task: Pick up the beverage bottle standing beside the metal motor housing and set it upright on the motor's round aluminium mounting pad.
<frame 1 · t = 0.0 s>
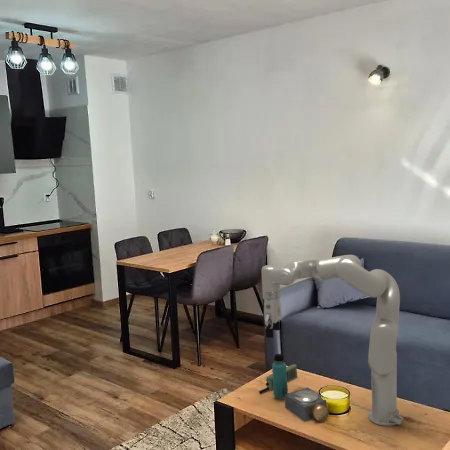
hand: (273, 333, 217), 31 cm above the table, tool pointing down, fingers open, 9 cm apart
handheld radio: (278, 386, 238), on the table
beverage bottle: (280, 398, 225), on the table
motor housing: (306, 410, 213), on the table
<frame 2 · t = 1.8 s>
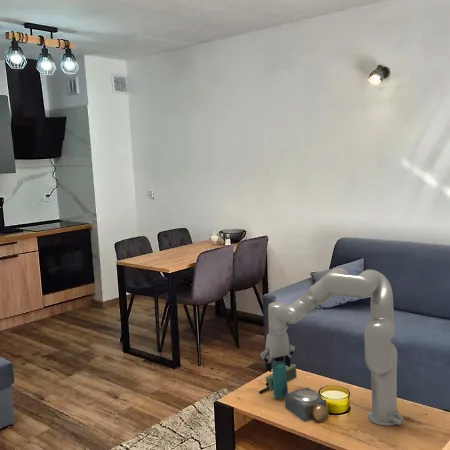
hand: (278, 368, 224), 14 cm above the table, tool pointing down, fingers open, 9 cm apart
nothing on the table moved.
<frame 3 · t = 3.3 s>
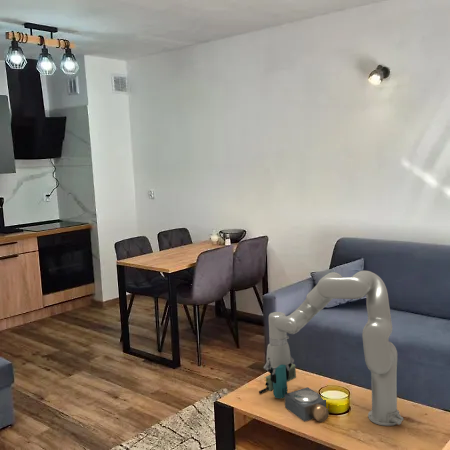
hand: (279, 380, 224), 9 cm above the table, tool pointing down, fingers closed on beverage bottle, 5 cm apart
beverage bottle: (280, 398, 225), on the table, touching gripper
everything else where it was.
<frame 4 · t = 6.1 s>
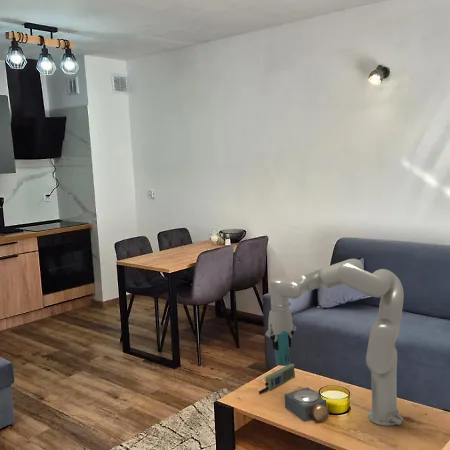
hand: (282, 347, 220), 24 cm above the table, tool pointing down, fingers closed on beverage bottle, 5 cm apart
beverage bottle: (283, 366, 221), point 15 cm above the table, touching gripper
everything else where it was.
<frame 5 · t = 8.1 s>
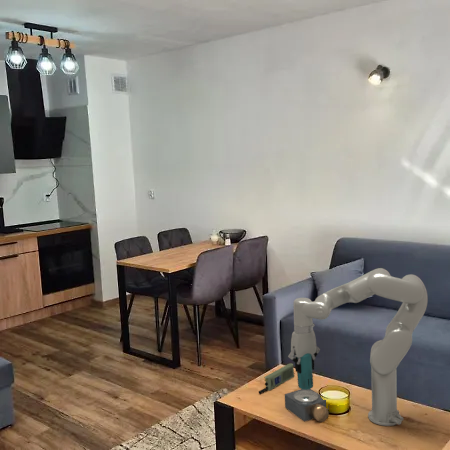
hand: (304, 370, 211), 18 cm above the table, tool pointing down, fingers closed on beverage bottle, 5 cm apart
beverage bottle: (305, 390, 212), point 9 cm above the table, touching gripper
when the fingers open (16 cm above the table, at t = 9.2 s): beverage bottle drops 1 cm, resting on motor housing.
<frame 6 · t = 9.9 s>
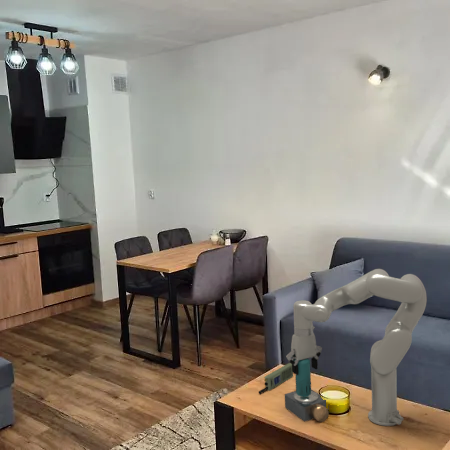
hand: (305, 371, 211), 17 cm above the table, tool pointing down, fingers open, 9 cm apart
beverage bottle: (303, 397, 211), point 6 cm above the table, touching gripper, motor housing
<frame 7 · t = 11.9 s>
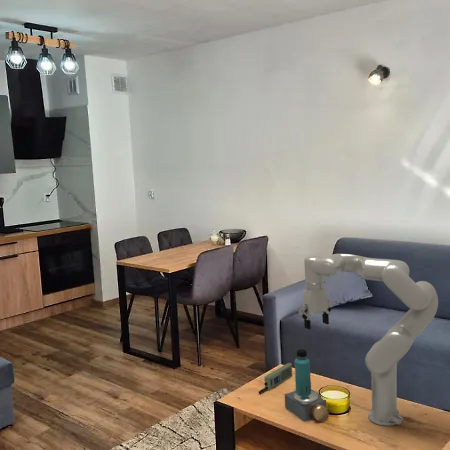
hand: (316, 326, 213), 35 cm above the table, tool pointing down, fingers open, 9 cm apart
beverage bottle: (303, 397, 211), point 6 cm above the table, touching motor housing
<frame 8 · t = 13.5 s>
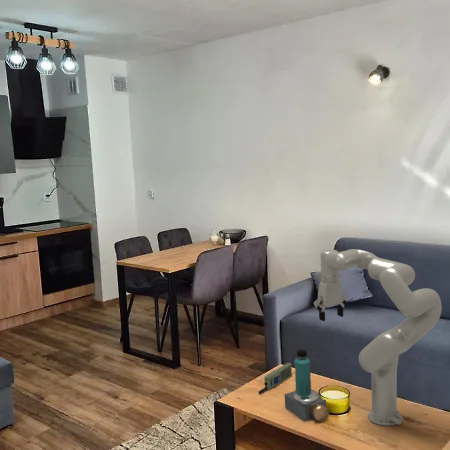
hand: (331, 318, 217), 36 cm above the table, tool pointing down, fingers open, 9 cm apart
at the end: beverage bottle inside the target area on the motor housing (1.3 cm from its centre), point 6.3 cm above the motor housing's base; beverage bottle tilted 0°; the gripper is holding nothing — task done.
